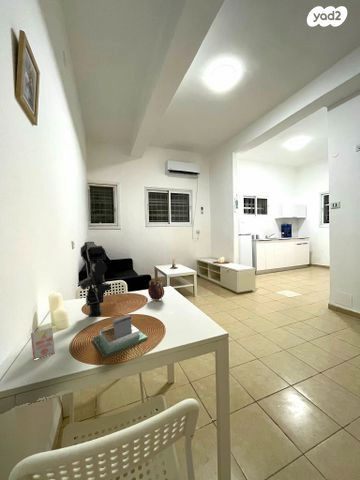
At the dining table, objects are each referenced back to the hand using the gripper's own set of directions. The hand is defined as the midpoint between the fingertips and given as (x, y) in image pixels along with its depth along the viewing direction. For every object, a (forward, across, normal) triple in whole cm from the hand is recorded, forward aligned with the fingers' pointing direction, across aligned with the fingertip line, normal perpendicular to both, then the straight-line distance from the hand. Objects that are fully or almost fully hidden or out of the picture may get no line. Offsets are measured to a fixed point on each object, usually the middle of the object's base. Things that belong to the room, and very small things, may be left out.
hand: (99, 301), depth 99 cm
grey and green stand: (+12, +20, +1) cm, 23 cm away
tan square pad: (+7, +15, +2) cm, 17 cm away
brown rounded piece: (+12, -8, +38) cm, 41 cm away
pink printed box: (+12, +8, -25) cm, 29 cm away
